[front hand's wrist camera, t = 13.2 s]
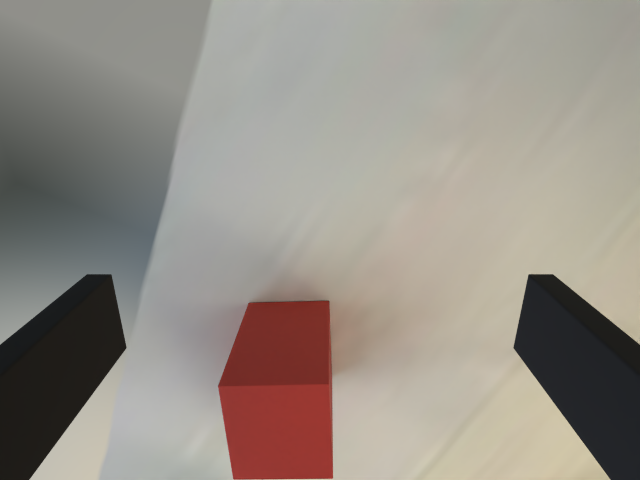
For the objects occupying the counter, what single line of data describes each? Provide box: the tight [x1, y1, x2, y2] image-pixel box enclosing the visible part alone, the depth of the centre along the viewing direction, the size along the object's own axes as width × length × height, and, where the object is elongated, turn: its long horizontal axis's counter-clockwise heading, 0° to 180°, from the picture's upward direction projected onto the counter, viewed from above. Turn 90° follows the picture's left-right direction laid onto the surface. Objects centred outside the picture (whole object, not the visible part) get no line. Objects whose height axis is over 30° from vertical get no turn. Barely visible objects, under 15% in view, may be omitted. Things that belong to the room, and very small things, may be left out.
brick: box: [218, 301, 333, 479], centre depth 33 cm, size 9×7×11 cm
